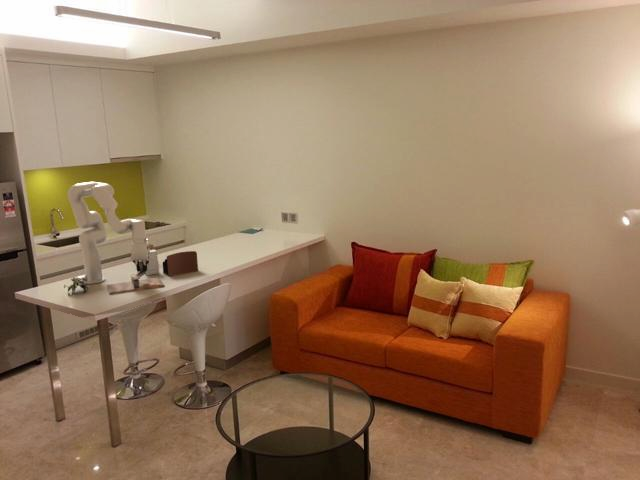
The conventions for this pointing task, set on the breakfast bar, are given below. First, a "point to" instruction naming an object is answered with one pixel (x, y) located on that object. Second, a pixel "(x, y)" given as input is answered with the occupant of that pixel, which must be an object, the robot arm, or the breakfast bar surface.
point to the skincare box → (153, 264)
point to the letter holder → (180, 263)
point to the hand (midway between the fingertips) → (142, 271)
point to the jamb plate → (130, 286)
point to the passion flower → (78, 282)
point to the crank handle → (141, 271)
